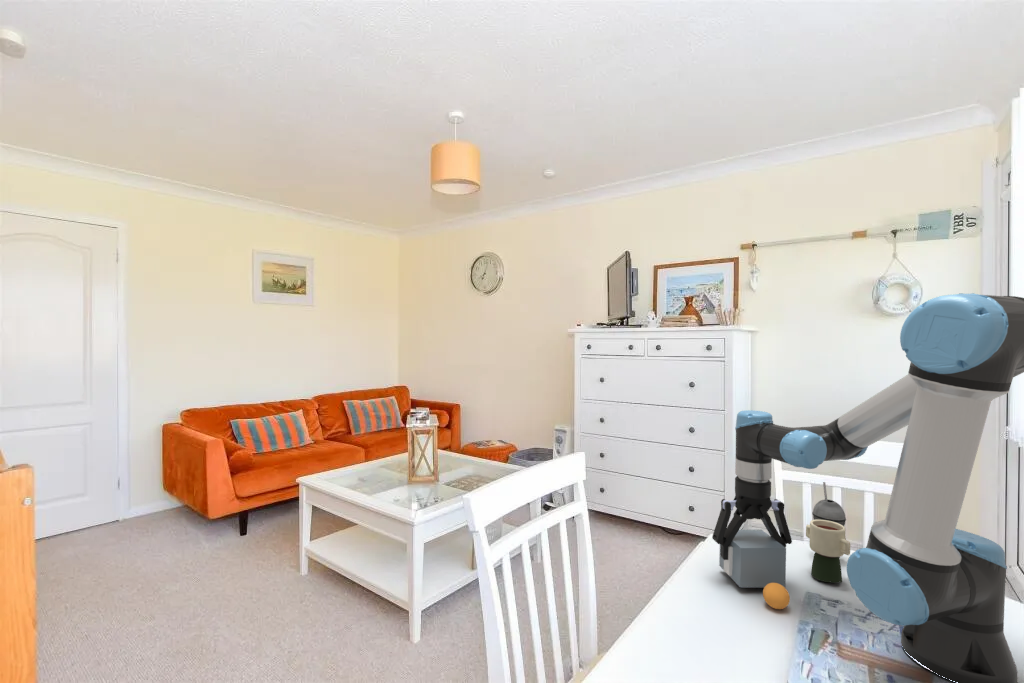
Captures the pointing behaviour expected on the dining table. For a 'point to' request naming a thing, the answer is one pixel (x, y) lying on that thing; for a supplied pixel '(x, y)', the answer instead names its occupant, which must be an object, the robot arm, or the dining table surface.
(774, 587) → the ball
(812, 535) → the character mug
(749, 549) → the grey rectangular box
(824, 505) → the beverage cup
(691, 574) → the dining table surface
